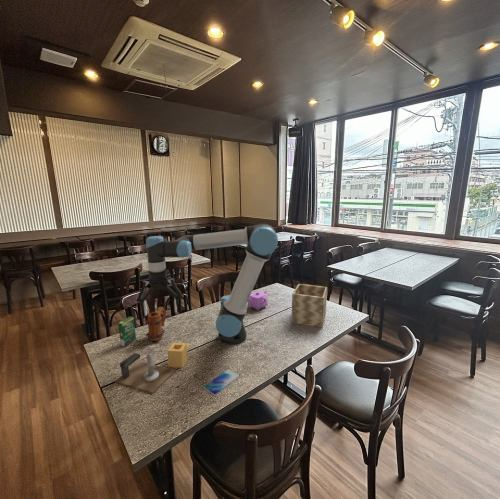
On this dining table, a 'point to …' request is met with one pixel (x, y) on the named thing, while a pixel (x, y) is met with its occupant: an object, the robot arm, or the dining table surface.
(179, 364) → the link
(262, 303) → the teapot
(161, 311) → the mug
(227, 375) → the smartphone
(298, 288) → the planter
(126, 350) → the dining table surface
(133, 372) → the base
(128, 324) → the coffee box
